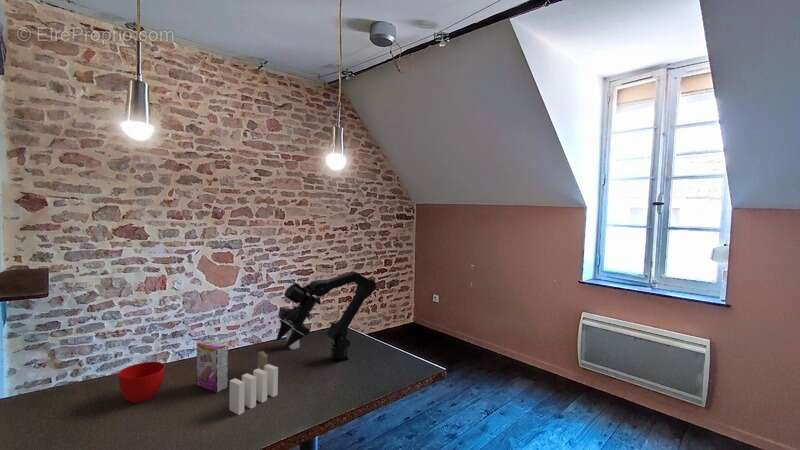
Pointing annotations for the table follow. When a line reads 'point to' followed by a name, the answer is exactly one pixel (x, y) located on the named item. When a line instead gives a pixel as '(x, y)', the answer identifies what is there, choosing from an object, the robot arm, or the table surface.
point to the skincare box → (294, 345)
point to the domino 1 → (237, 396)
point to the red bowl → (141, 381)
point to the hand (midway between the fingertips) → (281, 343)
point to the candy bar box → (212, 365)
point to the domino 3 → (262, 360)
